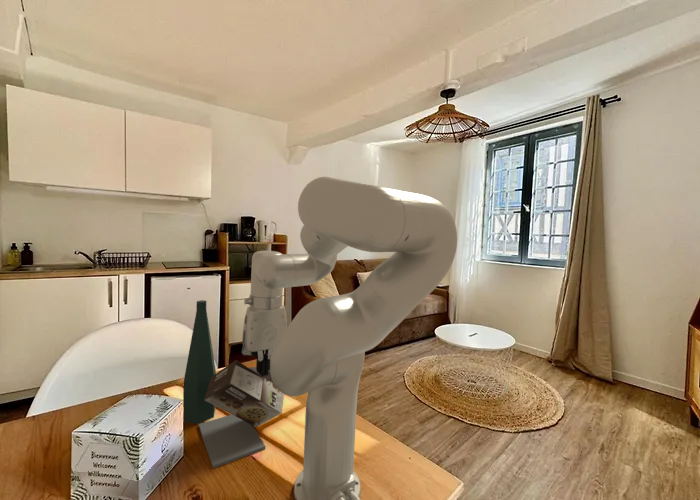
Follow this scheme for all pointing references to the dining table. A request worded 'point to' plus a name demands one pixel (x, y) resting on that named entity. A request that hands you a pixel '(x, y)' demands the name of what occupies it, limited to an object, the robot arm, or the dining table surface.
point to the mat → (229, 439)
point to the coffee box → (244, 394)
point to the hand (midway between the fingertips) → (262, 373)
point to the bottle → (199, 370)
